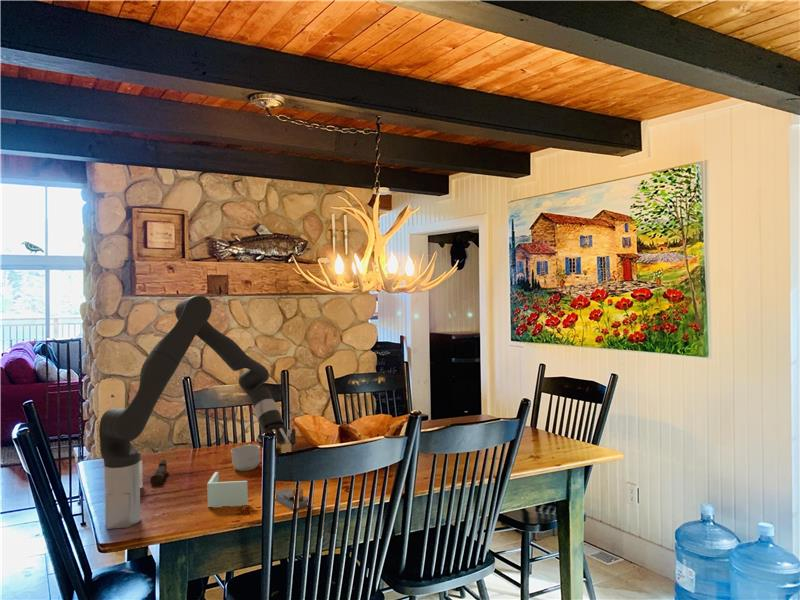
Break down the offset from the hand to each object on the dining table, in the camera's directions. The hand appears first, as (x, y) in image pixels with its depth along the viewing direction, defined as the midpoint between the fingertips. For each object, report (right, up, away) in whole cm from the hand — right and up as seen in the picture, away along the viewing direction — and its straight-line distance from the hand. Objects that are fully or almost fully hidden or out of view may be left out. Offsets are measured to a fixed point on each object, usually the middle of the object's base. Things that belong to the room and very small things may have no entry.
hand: (285, 459), depth 185 cm
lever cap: (-1, -4, +1) cm, 5 cm away
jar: (-57, -14, +14) cm, 60 cm away
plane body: (+2, -13, -2) cm, 13 cm away
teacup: (-22, -13, +36) cm, 45 cm away
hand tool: (-51, -14, +26) cm, 59 cm away
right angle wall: (-18, -14, +1) cm, 22 cm away
